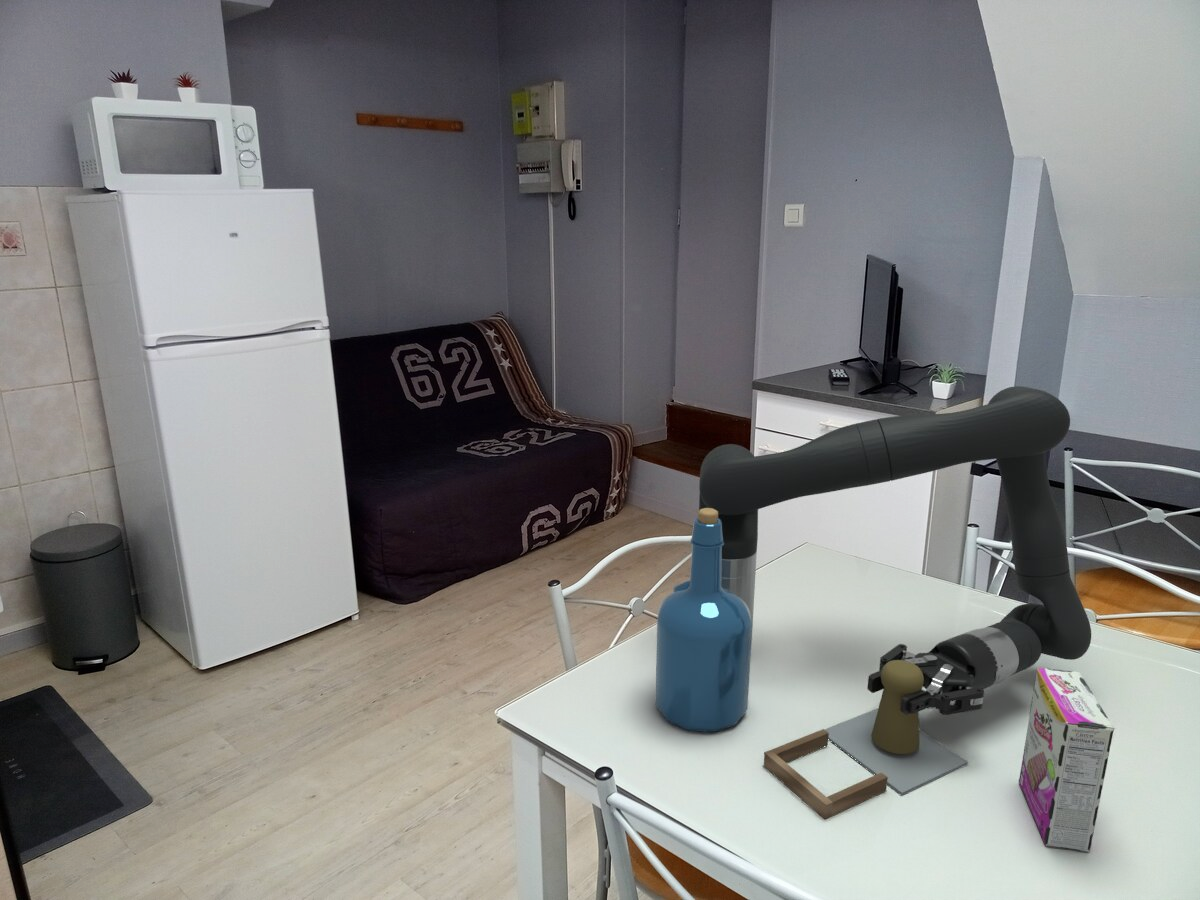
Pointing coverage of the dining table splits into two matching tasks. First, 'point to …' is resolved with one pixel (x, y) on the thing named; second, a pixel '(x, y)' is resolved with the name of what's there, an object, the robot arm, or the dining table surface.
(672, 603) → the wine bottle
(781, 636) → the dining table surface
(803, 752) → the wooden u-shaped frame
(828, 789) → the dining table surface
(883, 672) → the cork
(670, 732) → the dining table surface
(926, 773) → the slate mat
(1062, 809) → the candy bar box
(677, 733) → the dining table surface
